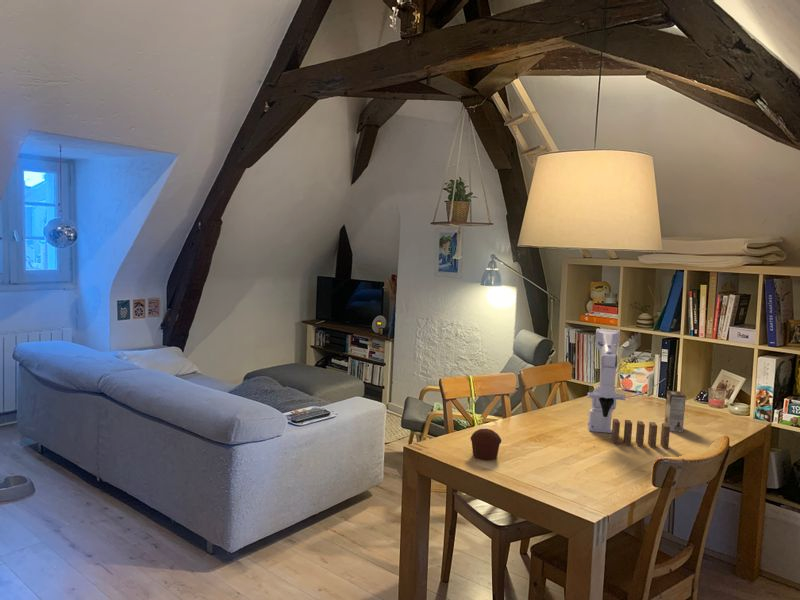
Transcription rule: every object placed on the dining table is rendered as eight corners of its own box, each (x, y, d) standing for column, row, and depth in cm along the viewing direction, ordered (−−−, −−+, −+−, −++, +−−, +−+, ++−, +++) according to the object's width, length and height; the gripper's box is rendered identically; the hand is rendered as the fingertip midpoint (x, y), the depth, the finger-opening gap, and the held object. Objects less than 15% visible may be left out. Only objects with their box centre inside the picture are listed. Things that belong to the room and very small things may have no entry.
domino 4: (650, 447, 254) (652, 425, 253) (647, 443, 258) (649, 421, 258) (655, 447, 253) (657, 425, 252) (652, 443, 258) (654, 422, 257)
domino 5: (662, 448, 253) (664, 426, 252) (660, 444, 258) (662, 422, 257) (668, 448, 252) (670, 426, 252) (665, 444, 257) (667, 423, 256)
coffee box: (663, 425, 286) (666, 390, 284) (678, 426, 285) (681, 391, 283) (667, 431, 277) (670, 394, 275) (683, 432, 276) (686, 396, 274)
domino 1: (613, 444, 256) (614, 422, 255) (611, 440, 261) (612, 418, 260) (618, 444, 256) (619, 422, 255) (616, 440, 261) (617, 419, 260)
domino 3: (637, 446, 254) (639, 424, 254) (635, 442, 259) (637, 420, 258) (643, 446, 254) (644, 424, 253) (640, 442, 259) (642, 421, 258)
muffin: (507, 458, 235) (508, 431, 234) (486, 464, 228) (487, 437, 227) (483, 449, 244) (485, 423, 243) (463, 454, 237) (464, 428, 236)
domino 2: (625, 445, 255) (627, 423, 254) (623, 441, 260) (625, 419, 259) (630, 445, 255) (632, 423, 254) (628, 441, 260) (630, 420, 259)
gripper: (590, 384, 254) (588, 417, 255) (628, 386, 252) (625, 420, 253) (587, 380, 260) (585, 413, 262) (624, 382, 259) (621, 415, 260)
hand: (605, 416), depth 258 cm, fingers closed
